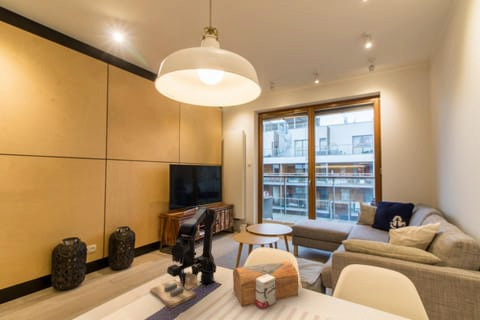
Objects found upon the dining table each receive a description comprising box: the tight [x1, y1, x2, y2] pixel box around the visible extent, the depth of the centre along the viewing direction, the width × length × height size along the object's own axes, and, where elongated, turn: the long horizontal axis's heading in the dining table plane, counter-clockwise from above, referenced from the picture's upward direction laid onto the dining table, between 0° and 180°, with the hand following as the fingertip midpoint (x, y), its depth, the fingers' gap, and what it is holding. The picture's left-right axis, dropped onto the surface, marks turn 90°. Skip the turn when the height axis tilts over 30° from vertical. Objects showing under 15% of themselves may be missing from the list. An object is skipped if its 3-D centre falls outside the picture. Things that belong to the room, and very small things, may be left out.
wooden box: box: [232, 261, 299, 308], centre depth 118 cm, size 30×16×14 cm, turn 106°
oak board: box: [150, 279, 197, 309], centre depth 117 cm, size 14×20×2 cm
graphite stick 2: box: [170, 287, 183, 297], centre depth 114 cm, size 6×2×2 cm, turn 136°
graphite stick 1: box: [164, 283, 177, 292], centre depth 119 cm, size 6×2×2 cm, turn 136°
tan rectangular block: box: [179, 271, 198, 291], centre depth 108 cm, size 5×7×5 cm
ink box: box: [255, 274, 276, 310], centre depth 108 cm, size 9×5×12 cm, turn 129°
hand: (188, 284), depth 108 cm, fingers closed on tan rectangular block, 5 cm apart
